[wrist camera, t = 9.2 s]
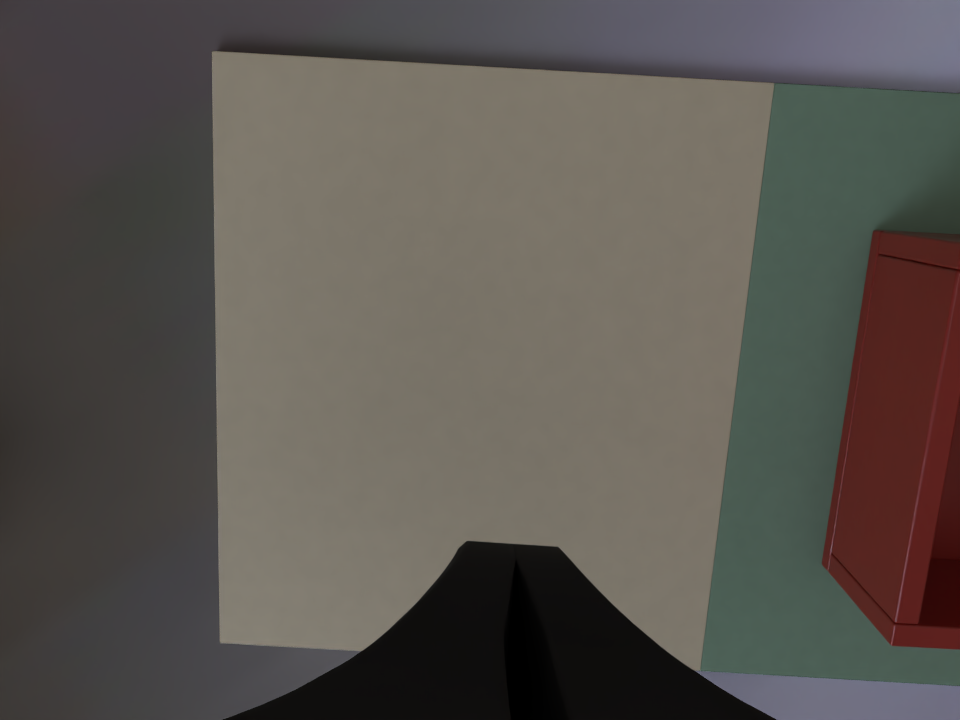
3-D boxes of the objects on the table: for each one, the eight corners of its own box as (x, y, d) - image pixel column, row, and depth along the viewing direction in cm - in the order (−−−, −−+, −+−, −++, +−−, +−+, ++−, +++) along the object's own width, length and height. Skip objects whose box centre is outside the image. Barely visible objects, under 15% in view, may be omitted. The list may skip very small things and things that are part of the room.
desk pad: (1175, 694, 21) (1181, 699, 21) (222, 638, 21) (219, 643, 21) (1330, 115, 18) (1339, 114, 18) (214, 51, 18) (211, 50, 18)
